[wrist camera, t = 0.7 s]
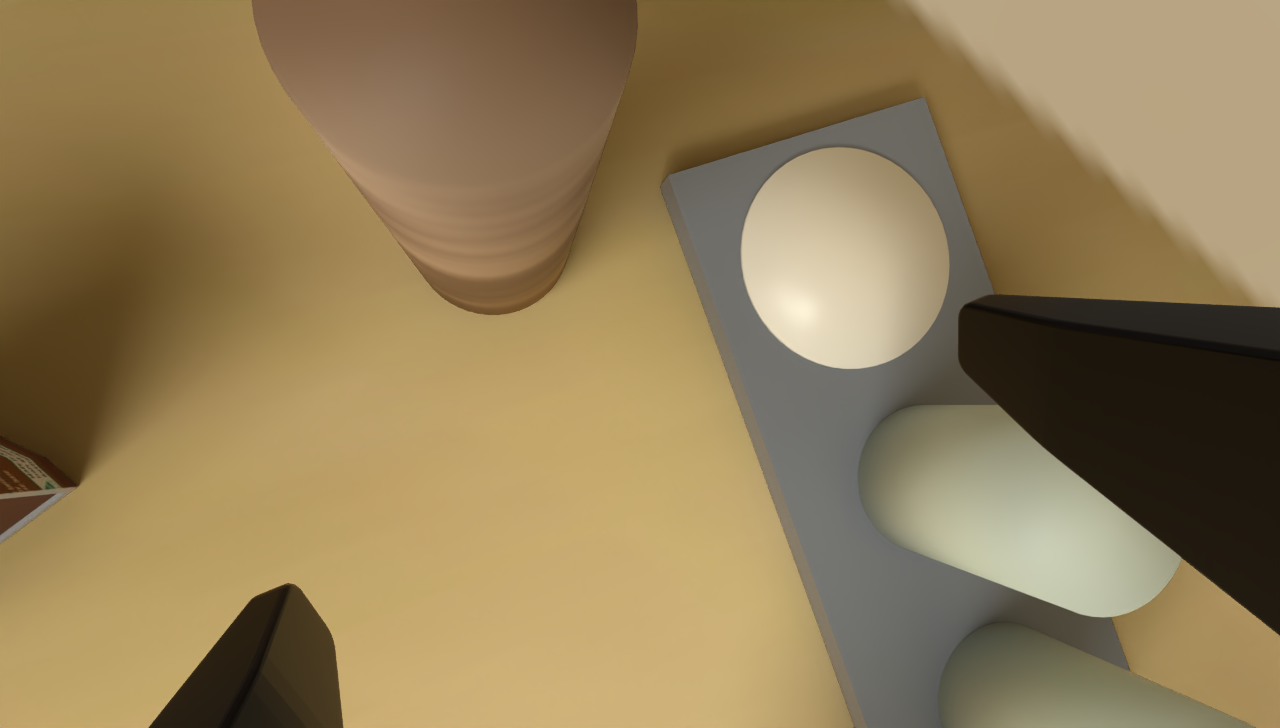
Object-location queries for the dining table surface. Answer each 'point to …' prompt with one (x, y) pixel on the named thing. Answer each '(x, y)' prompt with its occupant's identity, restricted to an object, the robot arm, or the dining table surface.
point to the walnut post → (462, 124)
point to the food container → (27, 487)
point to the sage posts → (1022, 568)
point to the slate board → (853, 380)
